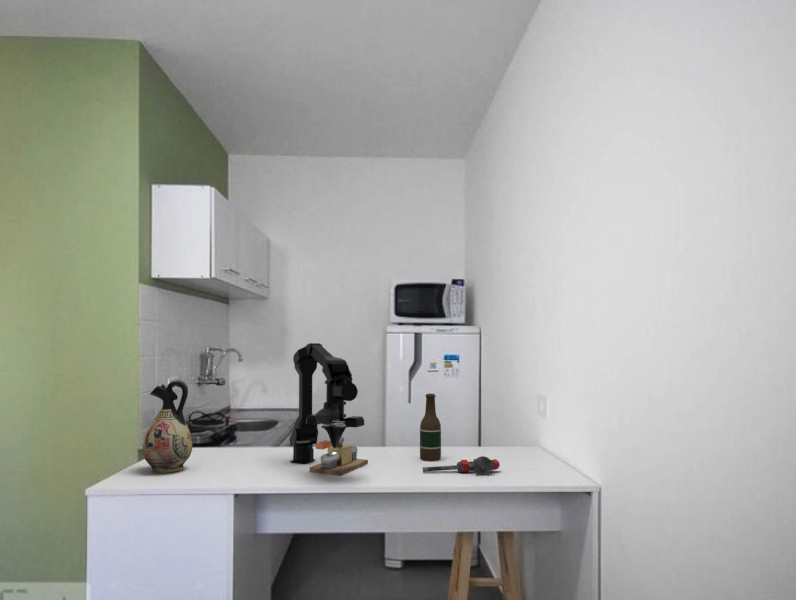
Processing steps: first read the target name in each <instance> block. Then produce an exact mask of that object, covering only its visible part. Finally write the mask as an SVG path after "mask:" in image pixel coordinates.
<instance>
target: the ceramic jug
mask: <svg viewBox="0 0 796 600" xmlns="http://www.w3.org/2000/svg"><path fill="white" fill-rule="evenodd" d="M176 387H178V388H180V389H181V392H182V393H181V397H180V401H179V404H178V406H177V408H176V406H175V402H174V401H177V400H178V399H179V398H178V395H177V394H176V392H175V391H174V390H173V388H176ZM188 393H189V387H188V385H187V383H185V382H184V381H182V380H179V379H176V380H172V381H170V382H169V383H168V384H167V385H165V384H161V385H157V386H155V388H153V389H152V390H151V392H150V393H149V395H151V396H153V397H156V398H157V399H160V400H161V401H162V408H161V409H160V410H159V412H158V414H157V415H156V416H155V418H154V420H153V421H152V422H151V424H150V426H149V427H148V429H147V431H146V433H145V436H144V440H143V444H142V453H143V454H142V455H143V458H144V460H145V461H146V463H147V464H148V465H149V466H150V468H151V469H152V473H155V474H167V473H168V474H169V473H176V472H180V471H182V470H183V469H184V464H185V463H186V462H187V460H188V459H189V458H190V456H191V454H192V452H193V439H192V433H191V431H190V429H189V426H188V425H187V423H186V420H185V417H184V413H183V411H184V407H185V404H186V401H187V399H188Z"/></svg>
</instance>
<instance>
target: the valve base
mask: <svg viewBox="0 0 796 600" xmlns="http://www.w3.org/2000/svg"><path fill="white" fill-rule="evenodd" d="M357 454H358V447H357V446H356V444H344V442H339V443H338V446H337V448H333V446H332V447H329V448H327V453H324V454H322V455H321V456H320V463H318V464H314V465H312V466H309V473H315V474H324V475H332V476H343V475H346V474H349V473H351V472H354V471H355V469H356V470H357V468H358V469H359V467H360V468H363V467H365V466H367V465H369V459H364V458H363V459H362V458H357V456H358V455H357ZM366 464H367V465H366ZM364 465H365V466H364ZM362 466H363V467H362Z"/></svg>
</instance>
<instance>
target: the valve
mask: <svg viewBox="0 0 796 600" xmlns="http://www.w3.org/2000/svg"><path fill="white" fill-rule="evenodd" d="M456 463H457V464H456V465H453V464H452V465H437V466H422V471H423V473H425V472H436V471H437V472H438V471H440V472H441V471H453V470H457V472H458V473H461V474H469V472H474V473H475V474H476V475H477V476H479V477H485V476H486V477H488V476H489V475H491V474H492V472H493V471H495V470H498V469H499V468H500V466H501V464H500V461H499V460H498V459H495V458H494V459H490V458H489V457H487V456H483V455H481V456H479V457H477V458H474V459H473V460H472V461H471V460H470V461H468V459H461V460H460V461H458V462H456Z"/></svg>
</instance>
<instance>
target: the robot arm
mask: <svg viewBox="0 0 796 600" xmlns="http://www.w3.org/2000/svg"><path fill="white" fill-rule="evenodd" d="M292 359H293V363H294V369H295V371H296V373H297V374H298V416H297V417H296V420H295V422H294V425H293V429H292V432H291V435H290V436H289V445H291V446H293V450H292V451H293V452H292V453H293V454H292V455H293V456H292V458H293V459H291V460H290V463H295V464H296V463H297V464H305V465H306V464H308V463H311V462H314V461H316V459H315V458H314V451H315V450H314V449H315V448H313V447H314V446H313V445H316V443H318V437H319V429H318V425H321V426H320V427H321V428H322V429H324V430H325V431H326V432H327V434H328V436H329V441H330V440H331V443H332V446H333V448H337V446H338V443H339V441H340V439H341V437H343V434H344V433H345V431H346V429H347V428H359V427H363V426H365V419H364V417H363V416H361V415H360V416H358V415H357V416H356V415H353V416H348V417H347V414H346V413H345V405H347V402H352V401H353V400H355V399H356V398H357V396H358V394H359V389H358V388H357V385H356V384H355V383H353V375H352V372H351V371H350V367H349V365H348V363H347V361H346V360H345V359H343V358H341V357H336V356H333V354H331V353H330V352H329V351H328V350H327V349H326V348H325V347H324V346H323V344H322V343H320V342H319V343H318V342H316V343H315V342H309V343H307V344H306V345H305V346H304V347H300V348H299V349H297V350H296V352H295V353H294V354H293V358H292ZM318 364H319V365H320V366H321V367H322V368H321V372H322V373H323V375H324V377H325V378H326V380H325V381H324V384H325V385H326V395H325V397H326V401H325V402H323V408H321V409H320V410H319V411H317V412H316V413H314V414H313V375H314V373H316V370H317V367H318Z"/></svg>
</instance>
